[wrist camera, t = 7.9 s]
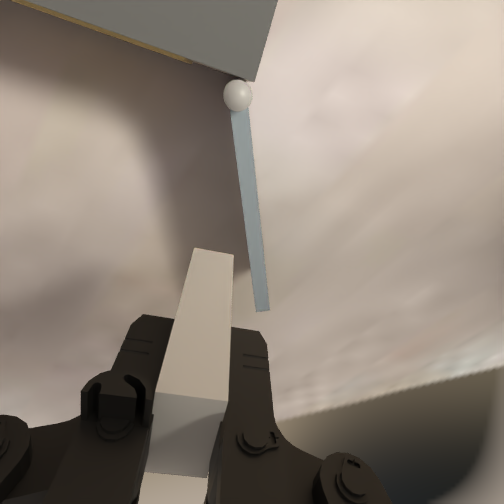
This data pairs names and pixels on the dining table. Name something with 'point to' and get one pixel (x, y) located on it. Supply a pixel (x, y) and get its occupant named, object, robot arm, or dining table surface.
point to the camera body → (179, 27)
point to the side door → (248, 185)
